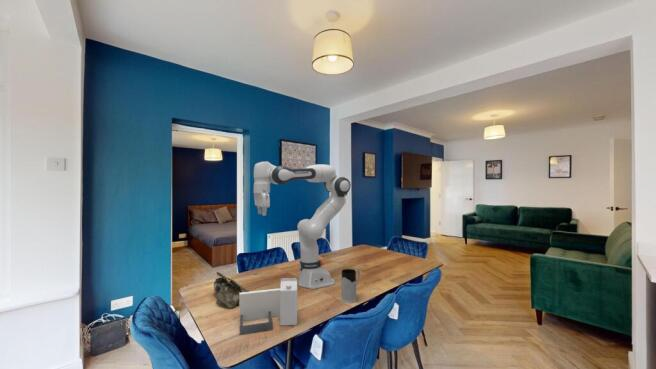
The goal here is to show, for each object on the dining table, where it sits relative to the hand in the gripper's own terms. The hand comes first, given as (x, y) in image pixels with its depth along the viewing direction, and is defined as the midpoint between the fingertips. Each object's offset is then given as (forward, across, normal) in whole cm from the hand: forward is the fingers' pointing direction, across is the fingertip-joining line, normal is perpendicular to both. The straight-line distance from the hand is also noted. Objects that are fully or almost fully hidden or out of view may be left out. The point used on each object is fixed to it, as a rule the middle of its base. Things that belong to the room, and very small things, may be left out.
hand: (262, 214), depth 149 cm
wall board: (+44, -28, +4) cm, 52 cm away
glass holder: (+44, -29, -41) cm, 67 cm away
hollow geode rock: (+44, +1, +17) cm, 47 cm away
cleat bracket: (+44, -33, +11) cm, 56 cm away
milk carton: (+44, -36, -3) cm, 57 cm away
